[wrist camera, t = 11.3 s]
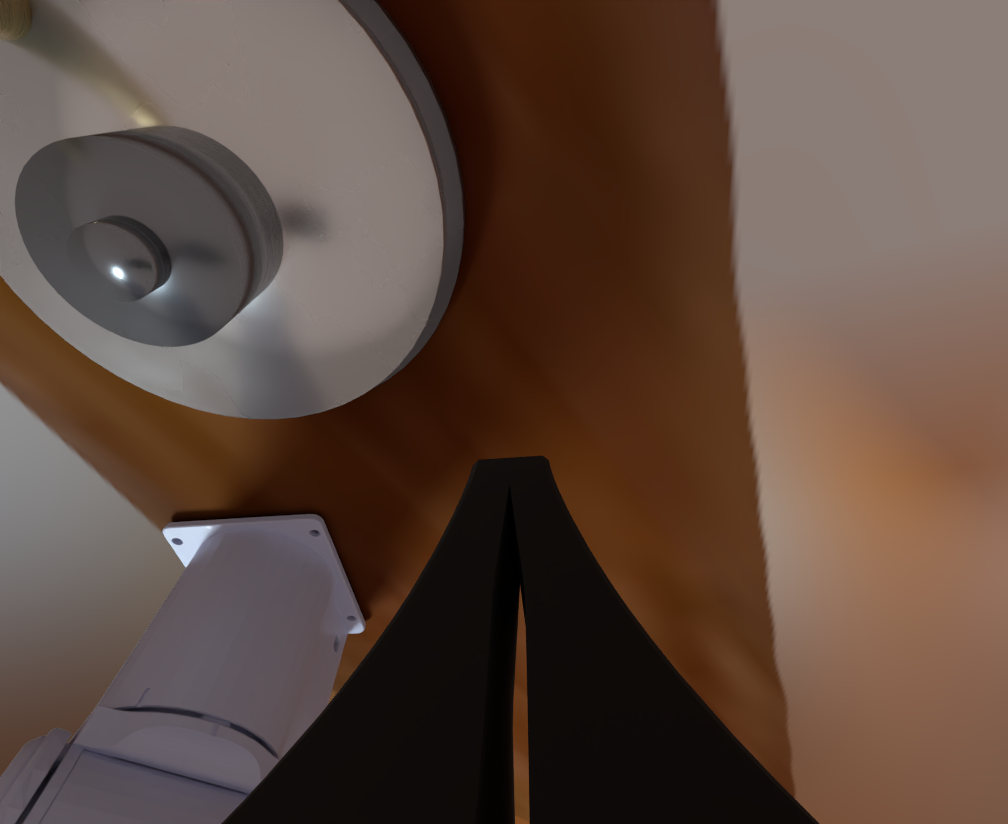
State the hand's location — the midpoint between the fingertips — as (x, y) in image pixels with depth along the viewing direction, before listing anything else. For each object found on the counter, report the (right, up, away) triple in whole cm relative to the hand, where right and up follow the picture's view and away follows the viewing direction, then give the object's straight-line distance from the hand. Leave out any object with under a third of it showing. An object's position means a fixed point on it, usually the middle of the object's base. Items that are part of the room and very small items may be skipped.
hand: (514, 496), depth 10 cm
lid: (-9, +7, +5) cm, 13 cm away
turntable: (-9, +8, +6) cm, 13 cm away
